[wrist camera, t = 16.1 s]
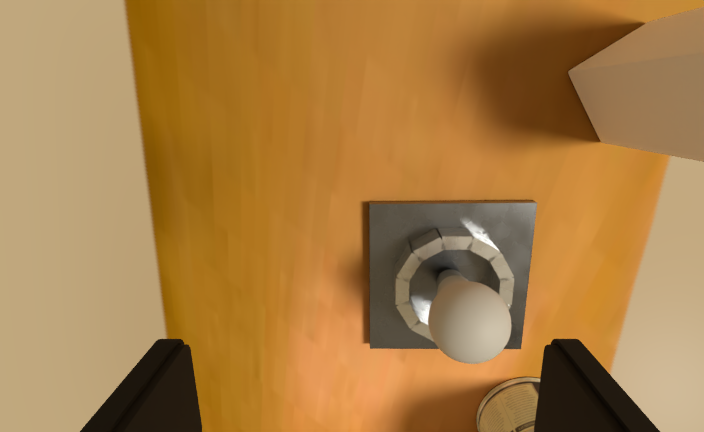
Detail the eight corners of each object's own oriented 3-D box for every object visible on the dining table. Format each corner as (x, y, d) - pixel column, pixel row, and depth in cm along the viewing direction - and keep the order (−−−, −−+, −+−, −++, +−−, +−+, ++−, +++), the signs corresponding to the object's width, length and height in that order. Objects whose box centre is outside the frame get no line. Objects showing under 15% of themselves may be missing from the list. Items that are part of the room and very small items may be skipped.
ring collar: (369, 201, 38) (369, 211, 35) (532, 200, 38) (549, 210, 34) (369, 342, 42) (370, 363, 39) (517, 343, 42) (530, 364, 39)
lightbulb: (406, 296, 40) (422, 367, 29) (429, 239, 38) (454, 293, 28) (465, 314, 40) (502, 391, 30) (491, 259, 38) (539, 320, 28)
